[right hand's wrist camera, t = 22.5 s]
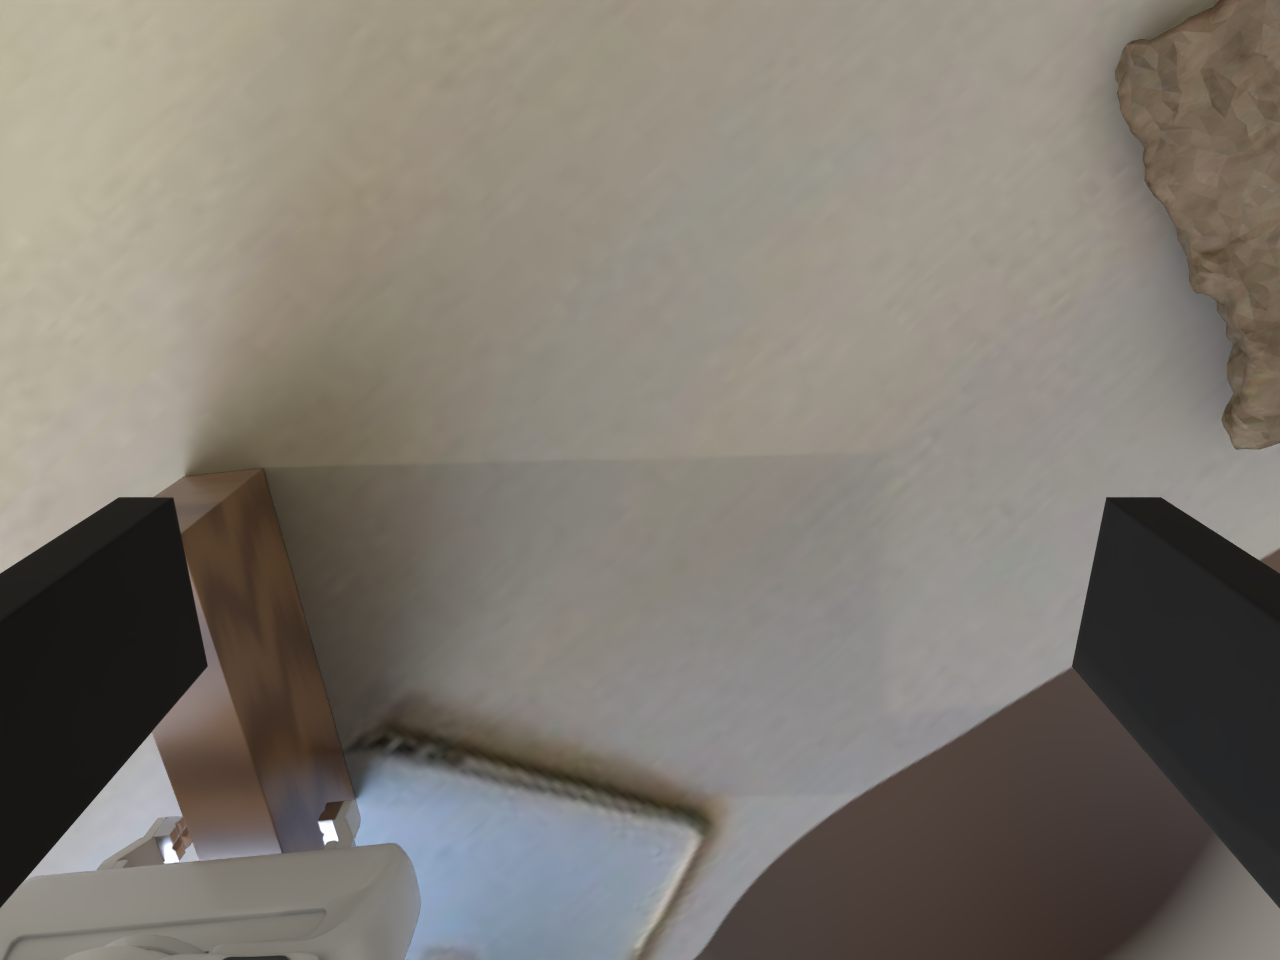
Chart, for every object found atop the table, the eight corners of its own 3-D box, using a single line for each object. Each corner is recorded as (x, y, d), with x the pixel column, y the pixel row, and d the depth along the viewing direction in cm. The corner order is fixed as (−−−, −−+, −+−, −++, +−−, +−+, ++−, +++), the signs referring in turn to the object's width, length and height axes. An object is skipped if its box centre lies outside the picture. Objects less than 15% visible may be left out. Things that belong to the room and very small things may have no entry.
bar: (182, 476, 47) (81, 545, 38) (263, 467, 47) (179, 535, 38) (287, 807, 55) (222, 925, 46) (356, 800, 54) (304, 918, 46)
